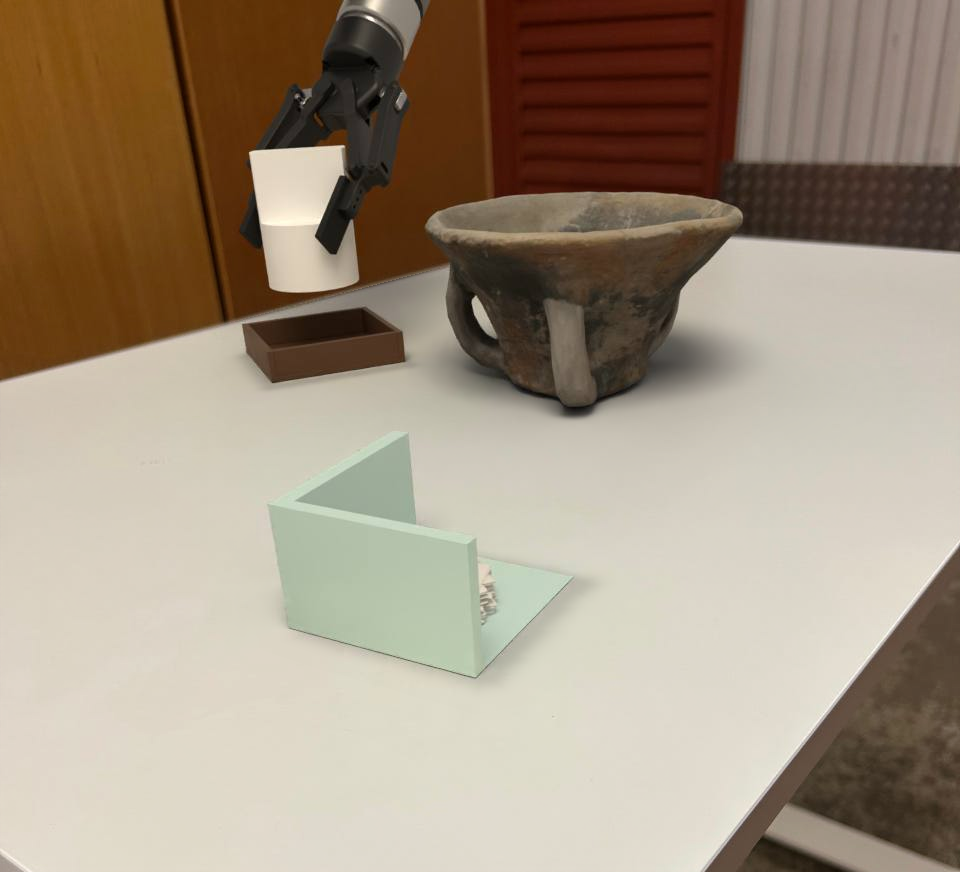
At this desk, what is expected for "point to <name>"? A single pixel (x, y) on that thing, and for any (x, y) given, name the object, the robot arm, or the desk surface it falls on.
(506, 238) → the bowl
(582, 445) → the desk surface
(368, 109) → the robot arm
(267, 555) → the desk surface
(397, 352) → the tray
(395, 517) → the l-shaped corner panel
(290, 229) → the base with upright slab
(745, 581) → the desk surface
